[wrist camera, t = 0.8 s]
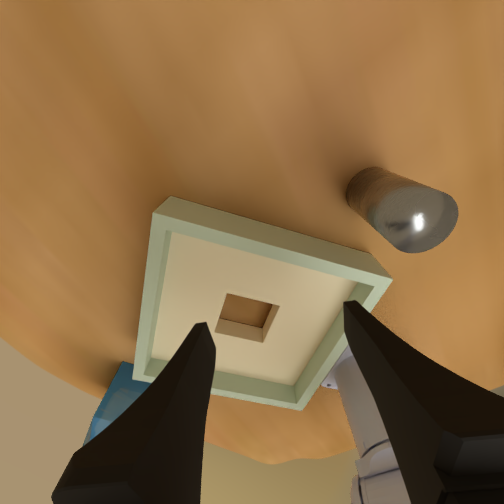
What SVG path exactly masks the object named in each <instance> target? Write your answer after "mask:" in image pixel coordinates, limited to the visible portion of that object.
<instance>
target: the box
mask: <svg viewBox="0 0 504 504" xmlns="http://www.w3.org/2000/svg"><path fill="white" fill-rule="evenodd" d="M392 280H393V278H392V277H391V276H390V275H389V274H388V273H387V272H386V270H385V269H384V268H383V267H382V266H381V265H380V264H379V262H378V261H377V260H376V259H375V258H374V257H373V256H372V254H370V253H366V252H363V251H359V250H356V249H352V248H349V247H345V246H342V245H339V244H335V243H332V242H328V241H325V240H321V239H318V238H314V237H311V236H308V235H304V234H301V233H297V232H294V231H290V230H287V229H283V228H280V227H277V226H273V225H270V224H266V223H263V222H259V221H256V220H252V219H249V218H246V217H242V216H239V215H235V214H232V213H228V212H225V211H221V210H218V209H215V208H211V207H208V206H204V205H201V204H197V203H194V202H190V201H187V200H184V199H180V198H177V197H173V196H170V197H169V198H168V199H166V200H165V201H164V202H163V203H162V204H161V205H160V206H159V207H158V208H157V209H156V210H155V211H154V212H153V214H152V223H151V231H150V239H149V247H148V255H147V263H146V271H145V280H144V288H143V296H142V304H141V312H140V320H139V328H138V336H137V345H136V353H135V361H134V369H133V377H132V379H133V380H138V381H144V382H149V383H152V382H153V381H154V380H155V379H156V377H157V376H158V375H159V374H160V372H161V371H162V370H163V369H164V367H165V366H166V365H167V363H168V362H169V361H170V359H171V358H172V357H173V355H174V354H175V352H176V351H177V350H178V348H179V347H180V345H181V344H182V342H183V341H184V339H185V338H186V336H187V335H188V333H189V332H190V330H191V329H192V328H193V326H194V325H195V323H201V322H207V325H208V328H209V330H210V333H211V335H212V338H213V341H214V343H215V346H216V362H215V371H214V377H213V382H212V388H211V393H210V394H214V395H219V396H225V397H230V398H235V399H241V400H246V401H251V402H257V403H262V404H268V405H273V406H278V407H284V408H289V409H295V410H300V411H302V410H303V409H304V407H305V406H306V404H307V403H308V401H309V400H310V398H311V397H312V396H313V394H314V393H315V391H316V390H317V388H318V387H319V386H320V384H321V383H322V381H323V380H324V378H325V377H326V375H327V374H328V373H329V371H330V370H331V368H332V367H333V365H334V364H335V362H336V361H337V360H338V358H339V357H340V355H341V354H342V352H343V351H344V350H345V348H346V347H347V345H348V341H347V338H346V335H345V332H344V313H343V302H345V301H352V300H356V301H358V302H359V303H360V304H361V305H362V306H363V307H364V308H365V309H366V310H367V311H368V312H369V313H370V312H371V311H372V309H373V308H374V306H375V305H376V304H377V302H378V301H379V299H380V298H381V296H382V295H383V293H384V292H385V291H386V289H387V288H388V286H389V285H390V283H391V282H392ZM227 293H229V294H234V295H238V296H242V297H246V298H250V299H254V300H258V301H262V302H266V303H270V304H273V305H272V308H271V310H270V312H269V314H268V317H267V319H266V321H265V323H264V326H263V328H259V327H255V326H250V325H246V324H242V323H237V322H233V321H229V320H224V319H220V318H219V316H220V313H221V310H222V307H223V304H224V301H225V297H226V294H227Z"/></svg>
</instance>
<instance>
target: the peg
mask: <svg viewBox="0 0 504 504" xmlns="http://www.w3.org/2000/svg"><path fill="white" fill-rule="evenodd" d="M346 197H347V202H348V204H349V205H350V207H351V208H352V209H353V210H354V211H356V212H357V213H358V214H359V215H360V216H361V217H362V218H363V219H364V220H366V221H367V222H368V223H369V224H370V225H371V226H372V227H373V228H374V229H375V230H377V231H378V232H379V233H380V234H381V235H382V236H383V237H384V238H385V239H387V240H388V241H389V242H390V243H391V244H392V245H393V246H394V247H395V248H397V249H398V250H400V251H403V252H406V253H420V252H424V251H427V250H429V249H432V248H434V247H435V246H437V245H439V244H440V243H441V242H443V241H444V240H445V239H446V238H447V237H448V236H449V235H450V233H451V232H452V230H453V229H454V227H455V225H456V222H457V219H458V207H457V204H456V202H455V200H454V199H453V198H452V197H451V196H450V195H448V194H446V193H444V192H441V191H439V190H436V189H433V188H431V187H428V186H426V185H423V184H420V183H418V182H415V181H413V180H410V179H408V178H405V177H402V176H400V175H397V174H395V173H392V172H390V171H387V170H384V169H382V168H377V167H372V168H367V169H365V170H362V171H361V172H359V173H358V174H357V175H355V176H354V177H353V179H352V180H351V181H350V183H349V185H348V188H347V192H346Z"/></svg>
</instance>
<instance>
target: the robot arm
mask: <svg viewBox="0 0 504 504" xmlns="http://www.w3.org/2000/svg"><path fill="white" fill-rule="evenodd" d="M343 313H344V332H345V335H346V338H347V341H348V345H347V347H346V348H345V350H344V351H343V352H342V354H341V355H340V357H339V358H338V360H337V361H336V362H335V364H334V365H333V367H332V368H331V370H330V371H329V373H328V374H327V375H326V377H325V378H324V380H323V381H322V383H321V385H322V386H323V387H327V388H332V389H337V390H339V393H340V396H341V399H342V403H343V406H344V409H345V412H346V415H347V418H348V422H349V425H350V428H351V431H352V434H353V437H354V441H355V444H356V447H357V450H358V453H359V456H360V459H358V460H356V461H355V463H356V467H357V471H358V475H355V476H354V477H353V479H352V486H351V504H504V397H502V396H499V395H497V394H495V393H493V392H490V391H488V390H486V389H484V388H482V387H480V386H478V385H476V384H474V383H472V382H470V381H468V380H466V379H464V378H463V377H461V376H459V375H457V374H455V373H453V372H452V371H450V370H448V369H446V368H445V367H443V366H441V365H439V364H438V363H436V362H434V361H433V360H431V359H429V358H428V357H426V356H425V355H423V354H422V353H420V352H419V351H417V350H416V349H414V348H413V347H412V346H410V345H409V344H407V343H406V342H405V341H403V340H402V339H401V338H399V337H398V336H397V335H395V334H394V333H393V332H392V331H390V330H389V329H388V328H387V327H386V326H384V325H383V324H382V323H381V322H380V321H378V320H377V319H376V318H375V317H374V316H373V315H372V314H371V313H369V312H368V311H367V310H366V309H365V308H364V307H363V306H362V305H361V304H360V303H359V302H358V301H356V300H352V301H345V302H343ZM215 362H216V346H215V343H214V341H213V338H212V335H211V333H210V330H209V328H208V325H207V322H201V323H195V325H194V326H193V328H192V329H191V330H190V332H189V333H188V335H187V336H186V338H185V339H184V341H183V342H182V344H181V345H180V347H179V348H178V350H177V351H176V352H175V354H174V355H173V357H172V358H171V359H170V361H169V362H168V363H167V365H166V366H165V367H164V369H163V370H162V371H161V372H160V374H159V375H158V376H157V377H156V379H155V380H154V381H153V382H152V383H151V384H150V385H149V387H148V388H147V389H146V390H145V391H144V392H143V393H142V394H141V395H140V396H139V397H138V398H137V399H136V400H135V401H134V402H133V403H132V404H131V405H130V406H129V407H128V408H127V409H126V410H125V411H124V412H123V413H122V414H121V415H120V416H119V417H118V418H116V419H115V420H114V421H113V422H112V423H111V424H110V425H108V426H107V427H106V428H105V429H104V430H103V431H101V432H100V433H99V434H98V435H97V436H95V437H94V438H93V439H91V440H90V441H89V442H88V443H86V444H85V445H84V446H83V447H82V448H80V449H79V450H78V451H76V452H75V453H74V454H73V456H72V458H71V460H70V462H69V463H68V465H67V467H66V469H65V471H64V473H63V474H62V476H61V478H60V480H59V482H58V484H57V486H56V487H55V490H54V491H53V493H52V496H51V498H52V501H53V504H200V495H201V476H202V475H201V474H202V459H203V445H204V434H205V423H206V416H207V409H208V404H209V398H210V393H211V388H212V382H213V377H214V371H215Z"/></svg>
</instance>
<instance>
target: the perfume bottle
mask: <svg viewBox="0 0 504 504" xmlns="http://www.w3.org/2000/svg"><path fill="white" fill-rule="evenodd" d="M133 369H134V364H130V363H127V362H124V361H123V362H122V364H121V366H120V368H119V369H118V371H117V373H116V375H115V377H114V379H113V381H112V382H111V384H110V386H109V388H108V390H107V392H106V394H105V396H104V397H103V399H102V401H101V403H100V405H99V407H98V409H97V411H96V412H95V414H94V416H93V419H92V422H91V424H90V427H89V430H88V433H87V436H86V438H85V441H84V444H83V446H84V445H85V444H86V443H88V442H89V441H90V440H91V439H93V438H94V437H95V436H97V435H98V434H99V433H100V432H101V431H103V430H104V429H105V428H106V427H107V426H108V425H110V424H111V423H112V422H113V421H114V420H115V419H116V418H118V417H119V416H120V415H121V414H122V413H123V412H124V411H125V410H126V409H127V408H128V407H129V406H130V405H131V404H132V403H133V402H134V401H135V400H136V399H137V398H138V397H139V396H140V395H141V394H142V393H143V392H144V391H145V390H146V389H147V388H148V387H149V385H150V384H151V383H149V382H144V381H138V380H133V379H132V377H133Z"/></svg>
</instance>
